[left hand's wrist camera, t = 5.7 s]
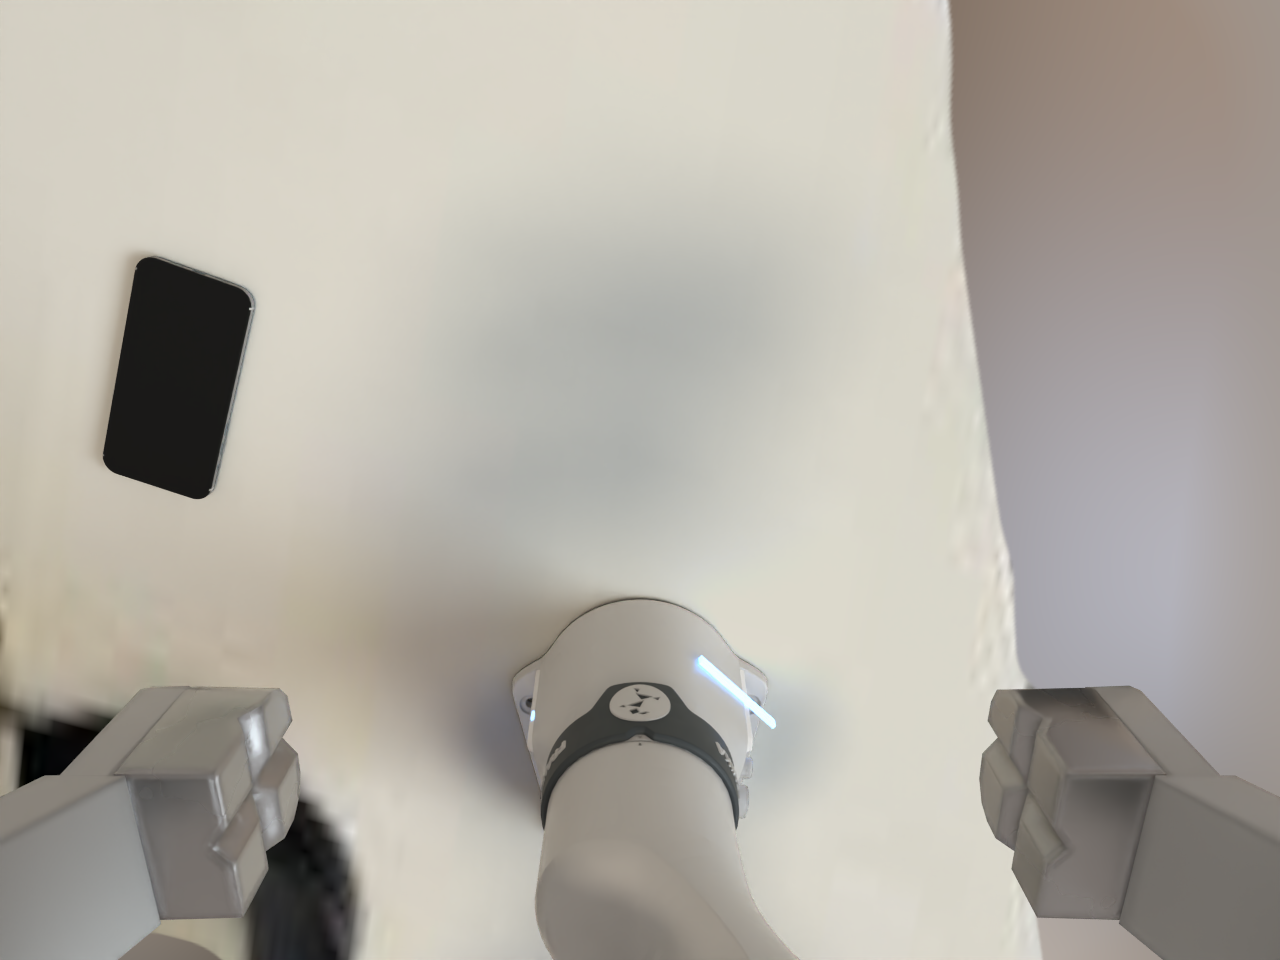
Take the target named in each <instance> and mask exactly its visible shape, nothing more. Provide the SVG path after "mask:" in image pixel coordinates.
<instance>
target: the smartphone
mask: <svg viewBox="0 0 1280 960" xmlns="http://www.w3.org/2000/svg"><path fill="white" fill-rule="evenodd" d="M253 311H254V300H253V297H252V296H251V294H250V293H249V292H248V291H247V290H246V289H245V288H243V287H241V286H238V285H236V284H233V283H230V282H227V281H224V280H221V279H219V278H216V277H213V276H210V275H207V274H205V273H202V272H199V271H196V270H193V269H191V268H188V267H185V266H182V265H179V264H177V263H174V262H171V261H168V260H165V259H163V258H160V257H147V258H144V259H142V260H141V261H139V263H138V264H137V266H136V269H135V274H134V280H133V286H132V292H131V297H130V303H129V309H128V314H127V320H126V326H125V332H124V337H123V343H122V349H121V354H120V360H119V366H118V372H117V377H116V383H115V389H114V394H113V400H112V406H111V412H110V417H109V423H108V429H107V434H106V440H105V446H104V451H103V460H104V463H105V465H106V466H107V467H108V469H110V470H111V471H112V472H114V473H116V474H119V475H122V476H125V477H128V478H131V479H134V480H137V481H141V482H144V483H147V484H150V485H153V486H156V487H159V488H162V489H165V490H168V491H171V492H174V493H177V494H180V495H184V496H187V497H190V498H193V499H202V498H204V497H206V496H208V495H209V494H210V493H211V492H212V491H213V489H214V486H215V481H216V477H217V472H218V468H219V463H220V459H221V454H222V450H223V445H224V441H225V436H226V432H227V427H228V423H229V419H230V414H231V410H232V405H233V401H234V396H235V392H236V387H237V383H238V378H239V374H240V369H241V365H242V360H243V356H244V351H245V347H246V342H247V338H248V333H249V329H250V324H251V320H252V315H253Z"/></svg>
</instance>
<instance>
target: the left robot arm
mask: <svg viewBox="0 0 1280 960" xmlns="http://www.w3.org/2000/svg"><path fill="white" fill-rule="evenodd" d="M512 694H513V698H514V701H515V705H516V708H517V711H518V715H519V718H520V722H521V725H522V729H523V732H524V736H525V739H526V743H527V746H528V750H529V753H530V756H531V760H532V763H533V767H534V770H535V774H536V777H537V780H538V784H539V787H540V791H541V795H540V799H542V800H541V819H542V825H543V829H544V837H543V844H542V852H541V859H540V866H539V873H538V881H537V888H536V895H535V912H536V920H537V924H538V928H539V931H540V935H541V937H542V940H543V942H544V944H545V946H546V948H547V950H548V951H549V953H550V955H551V956H552V958H553V960H800V959H799V958H798V957H797V956H796V955H794V954H793V953H792V951H791V950H790V949H789V948H788V947H787V946H786V945H785V944H784V943H783V941H782V940H781V939H780V938H779V937H778V936H777V935H776V933H775V932H774V931H773V930H772V928H771V927H770V926H769V924H768V923H767V922H766V920H765V919H764V917H763V916H762V914H761V913H760V911H759V909H758V907H757V906H756V904H755V902H754V900H753V898H752V895H751V893H750V890H749V886H748V883H747V879H746V875H745V872H744V868H743V864H742V860H741V855H740V851H739V845H738V840H737V835H736V829H737V826H738V819H739V818H741V819H742V818H745V817H746V814H747V810H748V803H749V791H748V787H747V786H745V785H741V784H742V781H743V778H750V777H751V775H752V768H753V762H752V759H751V758H749V756H750V753H751V750H752V746H753V743H754V739H755V736H756V732H757V729H758V725H759V722H760V718H761V719H762V720H763V721H764V722H766V723H767V724H768V725H769V726H770V727H771V728H772V729H773V728H774V727H776V724H775V720H774V719H773V718H772V717H771V716H770V715H769V714H767V713H766V712H765V711H764V710H763V708H764V705H765V701H766V698H767V694H768V682H767V679H766V677H765V675H764V674H763V673H762V672H761V671H759V670H758V669H756V668H755V667H753V666H752V665H750V664H748V663H747V662H745V661H743V660H741V659H740V658H738V657H737V656H736V655H735V654H734V653H733V652H732V651H731V649H730V648H729V647H728V645H727V644H726V642H725V641H724V640H723V638H722V637H721V636H720V634H719V633H718V632H717V631H716V630H715V629H714V628H713V627H712V626H711V625H710V624H709V623H707V622H706V621H705V620H703V619H702V618H701V617H699V616H698V615H696V614H694V613H692V612H691V611H689V610H686V609H684V608H682V607H679V606H677V605H673V604H670V603H666V602H662V601H655V600H642V599H638V600H625V601H619V602H614V603H610V604H607V605H603V606H601V607H598V608H596V609H594V610H591V611H589V612H588V613H586V614H584V615H582V616H581V617H579V618H578V619H577V620H575V621H574V622H573V623H571V624H570V625H569V626H568V627H567V628H566V629H565V630H564V631H563V632H562V633H561V634H560V636H559V637H558V638H557V640H556V641H555V642H554V644H553V645H552V647H551V648H550V649H549V651H548V652H547V653H546V654H545V655H544V656H543V657H542V658H541V659H539V660H537V661H535V662H533V663H532V664H530V665H528V666H527V667H525V668H524V669H522V670H521V671H520V672H518V673H517V674H516V675H515V677H514V679H513V682H512ZM529 698H533V699H532V702H529V701H528V700H527V699H529ZM752 699H753V700H752ZM291 722H292V717H291V712H290V707H289V702H288V697H287V695H286V694H285V693H284V692H283V691H282V690H281V689H280V688H237V687H193V688H192V687H189V686H163V687H149V688H145V689H141V690H140V691H139V692H138V693H137V694H136V695H135V696H134V697H133V698H132V699H131V700H130V701H129V702H128V703H127V704H126V705H125V707H124V708H123V709H122V710H121V711H120V712H119V713H118V714H117V715H116V716H115V717H114V718H113V719H112V720H111V721H110V722H109V724H108V725H107V726H106V727H105V728H104V729H103V730H102V731H101V732H100V733H99V734H98V735H97V736H96V737H95V738H94V739H93V741H92V742H91V743H90V744H89V745H88V746H87V747H86V748H85V749H84V750H83V751H82V752H81V753H80V754H79V755H78V757H77V758H76V759H75V760H74V761H73V762H72V763H71V764H70V765H69V766H68V767H67V768H66V769H65V770H64V771H63V772H62V774H61V775H60V776H43V777H41V778H39V779H37V780H35V781H33V782H31V783H29V784H26V785H24V786H22V787H20V788H18V789H16V790H14V791H12V792H10V793H8V794H6V795H3V796H1V797H0V960H118V959H119V958H120V957H121V956H122V955H124V954H125V953H126V952H127V951H129V950H130V949H131V948H132V947H133V946H135V945H136V944H137V943H138V942H140V941H141V940H142V939H143V938H144V937H146V936H147V935H148V934H149V933H151V932H152V931H153V930H154V929H155V928H157V927H158V926H159V925H160V924H161V922H160V920H171V919H205V918H240V917H243V916H244V914H245V913H246V911H247V909H248V907H249V905H250V903H251V901H252V899H253V897H254V895H255V893H256V892H257V890H258V888H259V886H260V884H261V882H262V880H263V878H264V876H265V874H266V873H267V871H268V863H267V857H266V852H265V851H266V850H268V849H269V848H271V847H272V846H274V845H275V844H277V843H278V842H279V841H281V840H282V839H284V838H285V836H286V834H287V832H288V830H289V828H290V826H291V824H292V821H293V819H294V816H295V812H296V807H297V803H298V799H299V794H300V767H299V760H298V753H297V752H296V751H295V750H294V749H293V748H292V747H291V746H290V745H289V744H288V743H287V742H286V741H285V740H284V739H283V738H282V737H283V735H284V734H285V732H286V730H287V729H288V727H289V725H290V724H291ZM988 722H989V724H990V725H991V727H992V729H993V730H994V732H995V734H996V735H997V737H998V738H997V739H996V740H995V741H994V742H993V743H992V744H991V745H990V746H989V747H988V748H987V749H986V750H985V751H984V752H983V753H982V761H981V769H980V778H979V779H980V790H981V801H982V805H983V809H984V812H985V815H986V819H987V822H988V824H989V826H990V828H991V830H992V832H993V834H994V836H995V838H996V839H998V840H999V841H1001V842H1002V843H1003V844H1005V845H1006V846H1008V847H1009V848H1011V849H1012V850H1014V851H1015V852H1014V857H1013V863H1012V871H1013V873H1014V874H1015V876H1016V878H1017V880H1018V882H1019V884H1020V886H1021V888H1022V890H1023V891H1024V893H1025V895H1026V897H1027V899H1028V901H1029V903H1030V905H1031V907H1032V909H1033V910H1034V912H1035V914H1036V916H1037V918H1073V919H1109V920H1120V921H1119V924H1120V925H1121V926H1123V927H1124V928H1125V929H1126V930H1127V931H1129V932H1130V933H1131V934H1132V935H1133V936H1135V937H1136V938H1137V939H1138V940H1140V941H1141V942H1142V943H1143V944H1145V945H1146V946H1147V947H1148V948H1149V949H1151V950H1152V951H1153V952H1154V953H1155V954H1157V955H1158V956H1159V957H1160V958H1161V959H1163V960H1280V797H1278V796H1276V795H1274V794H1272V793H1270V792H1268V791H1266V790H1264V789H1262V788H1260V787H1258V786H1256V785H1253V784H1251V783H1249V782H1247V781H1245V780H1243V779H1241V778H1239V777H1237V776H1220V775H1219V773H1218V772H1217V771H1216V770H1215V769H1214V768H1213V767H1212V766H1211V765H1210V764H1209V763H1208V762H1207V761H1206V760H1205V759H1204V758H1203V756H1202V755H1201V754H1200V753H1199V752H1198V751H1197V750H1196V749H1195V748H1194V747H1193V746H1192V745H1191V744H1190V743H1189V742H1188V740H1187V739H1186V738H1185V737H1184V736H1183V735H1182V734H1181V733H1180V732H1179V731H1178V730H1177V729H1176V728H1175V727H1174V726H1173V724H1172V723H1171V722H1170V721H1169V720H1168V719H1167V718H1166V717H1165V716H1164V715H1163V714H1162V713H1161V712H1160V711H1159V710H1158V709H1157V707H1156V706H1155V705H1154V704H1153V703H1152V702H1151V701H1150V700H1149V699H1148V698H1147V697H1146V696H1145V695H1144V694H1143V693H1142V691H1140V690H1138V689H1136V688H1133V687H1131V686H1109V687H1085V688H1059V689H1009V690H997V691H996V693H995V695H994V697H993V699H992V701H991V705H990V711H989V716H988Z"/></svg>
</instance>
